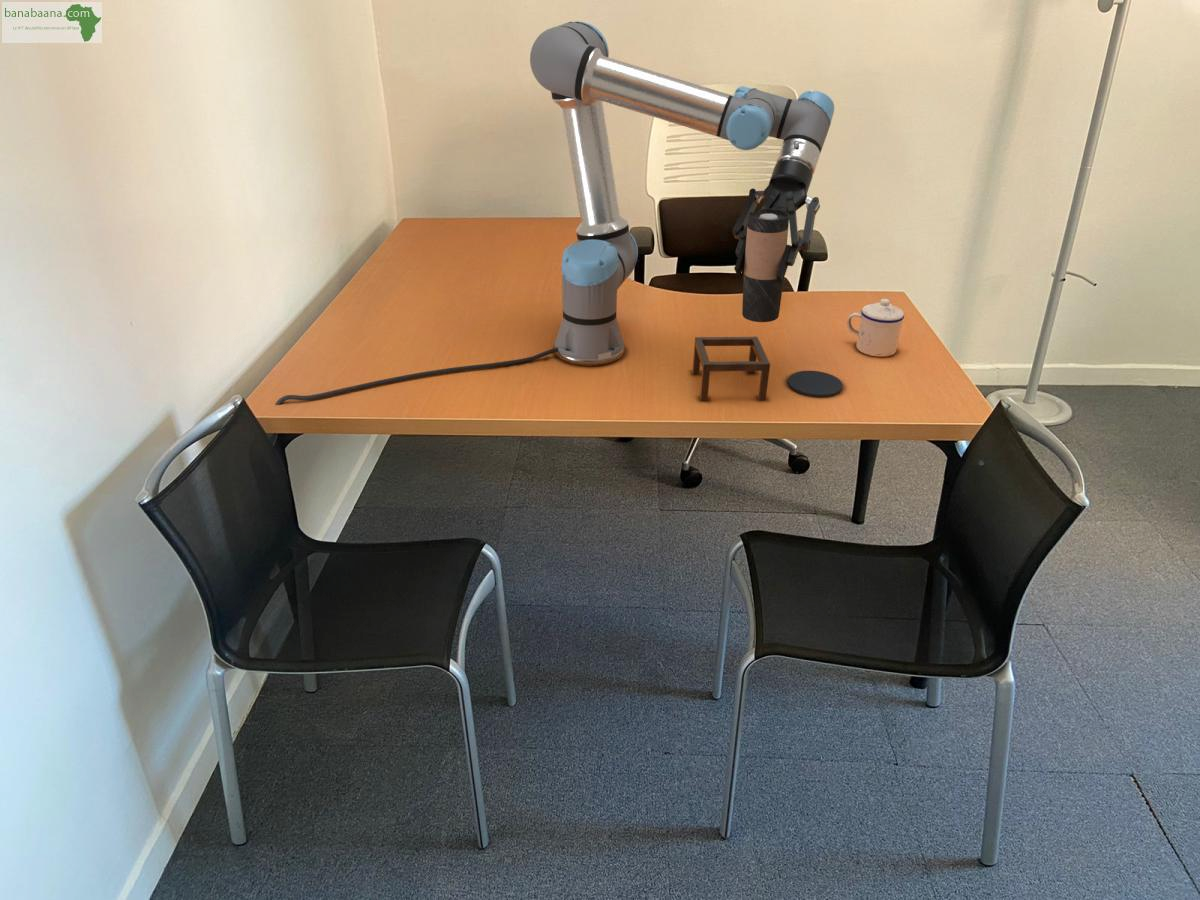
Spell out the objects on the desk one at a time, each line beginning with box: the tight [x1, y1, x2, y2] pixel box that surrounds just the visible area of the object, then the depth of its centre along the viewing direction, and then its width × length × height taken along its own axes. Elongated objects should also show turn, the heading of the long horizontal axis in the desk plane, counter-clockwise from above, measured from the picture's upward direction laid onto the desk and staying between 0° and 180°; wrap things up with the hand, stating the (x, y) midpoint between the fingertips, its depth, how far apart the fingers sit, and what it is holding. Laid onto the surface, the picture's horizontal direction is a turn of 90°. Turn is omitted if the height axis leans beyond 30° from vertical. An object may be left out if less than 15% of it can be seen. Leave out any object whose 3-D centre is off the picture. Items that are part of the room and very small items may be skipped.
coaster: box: [787, 370, 843, 398], centre depth 178 cm, size 11×11×1 cm
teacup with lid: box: [846, 298, 905, 358], centre depth 192 cm, size 12×9×12 cm
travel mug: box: [741, 208, 790, 323], centre depth 165 cm, size 8×8×20 cm
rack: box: [692, 336, 771, 402], centre depth 176 cm, size 13×13×8 cm
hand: (758, 275), depth 163 cm, fingers closed on travel mug, 7 cm apart
